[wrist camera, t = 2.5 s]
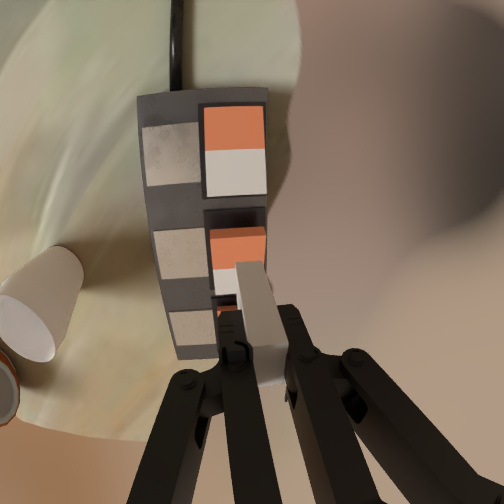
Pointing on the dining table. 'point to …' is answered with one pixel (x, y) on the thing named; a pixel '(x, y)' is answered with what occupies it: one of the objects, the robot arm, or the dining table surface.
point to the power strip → (190, 199)
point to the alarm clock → (8, 390)
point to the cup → (40, 303)
